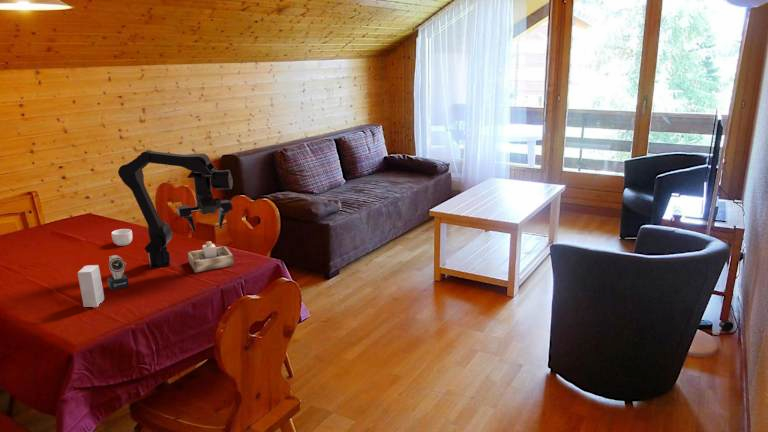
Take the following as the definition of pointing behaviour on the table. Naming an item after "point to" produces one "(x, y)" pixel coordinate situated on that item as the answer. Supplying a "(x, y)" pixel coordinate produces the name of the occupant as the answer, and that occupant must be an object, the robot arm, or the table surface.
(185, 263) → the table surface
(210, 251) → the connector plug
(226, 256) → the socket box
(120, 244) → the teacup
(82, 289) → the skincare box
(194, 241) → the table surface
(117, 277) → the watch
